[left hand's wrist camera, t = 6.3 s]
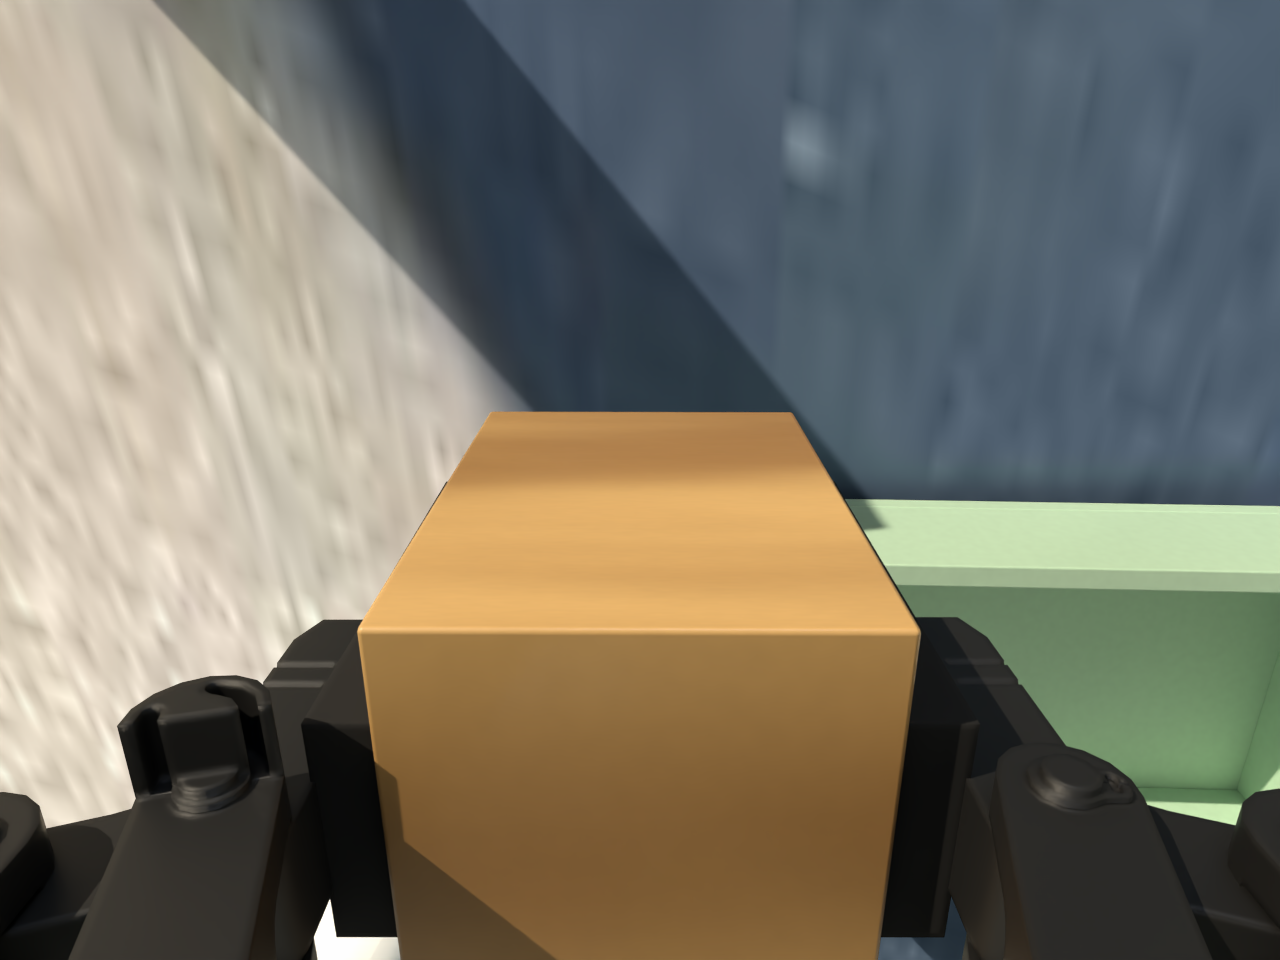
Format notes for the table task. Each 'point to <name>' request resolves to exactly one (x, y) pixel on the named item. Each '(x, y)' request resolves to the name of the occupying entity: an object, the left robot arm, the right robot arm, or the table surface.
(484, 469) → the beech block
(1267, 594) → the sage bin
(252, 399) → the table surface
